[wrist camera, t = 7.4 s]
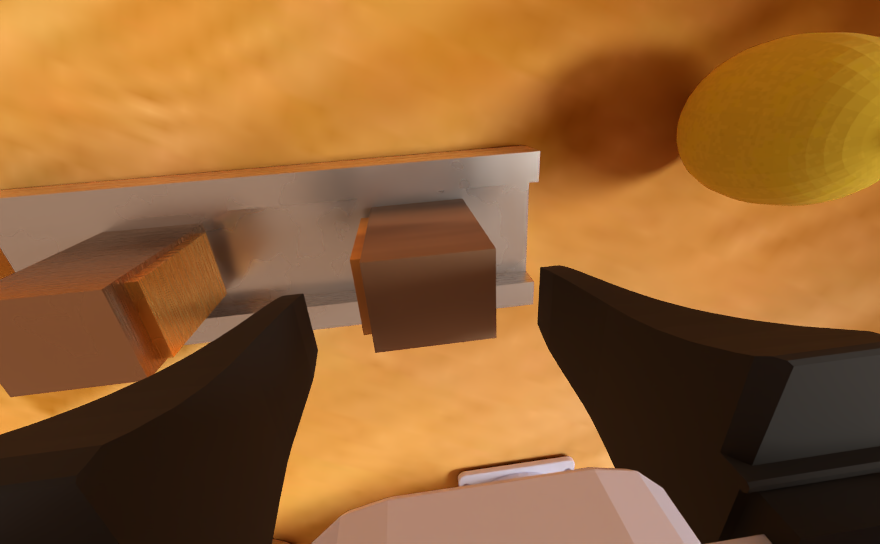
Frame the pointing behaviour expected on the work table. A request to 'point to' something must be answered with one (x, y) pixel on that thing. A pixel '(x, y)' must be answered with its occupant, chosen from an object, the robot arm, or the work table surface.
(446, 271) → the brown rectangular block
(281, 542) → the pastry
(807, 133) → the lemon
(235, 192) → the rail
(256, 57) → the work table surface
